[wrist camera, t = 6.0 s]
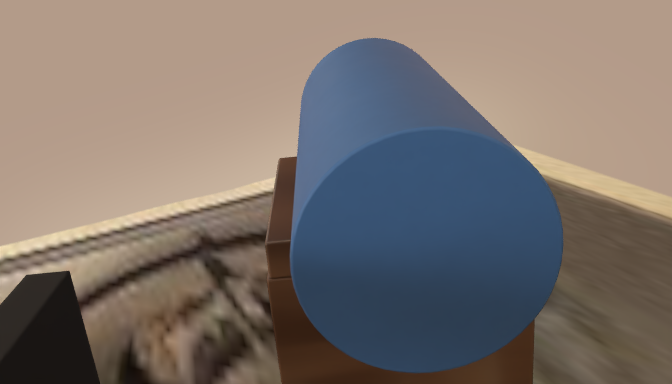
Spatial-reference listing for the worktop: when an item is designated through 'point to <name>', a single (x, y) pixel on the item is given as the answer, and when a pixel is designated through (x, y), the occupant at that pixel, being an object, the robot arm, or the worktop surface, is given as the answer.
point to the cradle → (327, 360)
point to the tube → (414, 216)
